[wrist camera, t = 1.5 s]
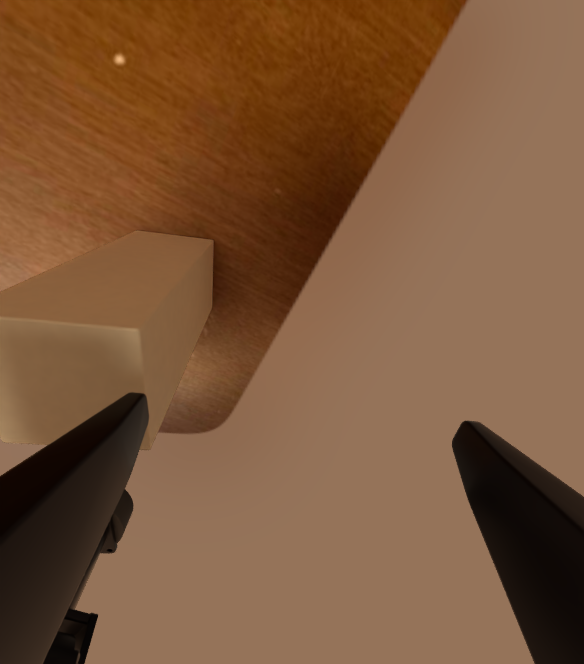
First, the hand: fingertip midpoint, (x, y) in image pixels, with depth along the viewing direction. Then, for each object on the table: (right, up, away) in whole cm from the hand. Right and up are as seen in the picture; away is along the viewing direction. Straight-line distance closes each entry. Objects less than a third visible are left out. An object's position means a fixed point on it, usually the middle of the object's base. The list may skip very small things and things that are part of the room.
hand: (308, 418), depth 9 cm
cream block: (-8, +6, +11) cm, 15 cm away
